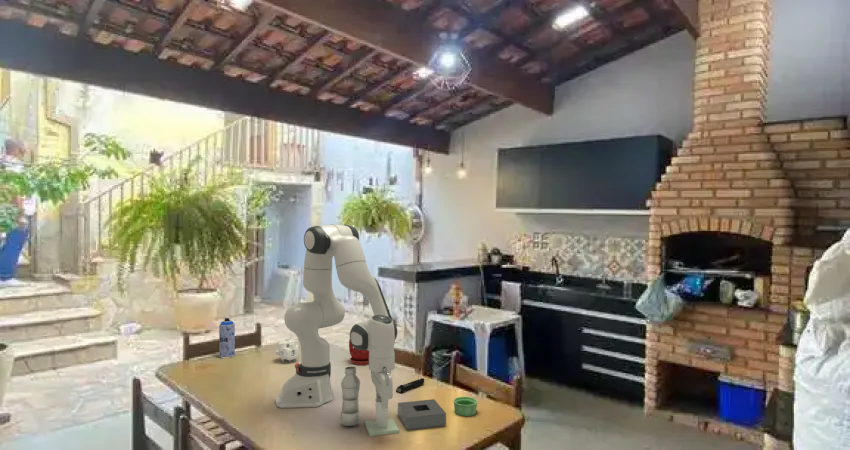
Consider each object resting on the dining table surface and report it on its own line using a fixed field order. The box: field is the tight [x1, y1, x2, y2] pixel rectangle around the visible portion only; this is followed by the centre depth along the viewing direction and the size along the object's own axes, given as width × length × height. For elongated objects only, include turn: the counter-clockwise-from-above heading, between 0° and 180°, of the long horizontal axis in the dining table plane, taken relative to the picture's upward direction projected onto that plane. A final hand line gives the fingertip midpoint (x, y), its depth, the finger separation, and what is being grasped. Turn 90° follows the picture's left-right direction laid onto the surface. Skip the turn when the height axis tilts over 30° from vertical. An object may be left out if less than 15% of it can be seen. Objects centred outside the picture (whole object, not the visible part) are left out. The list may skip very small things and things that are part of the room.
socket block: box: [397, 398, 447, 432], centre depth 180 cm, size 14×14×4 cm
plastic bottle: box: [340, 366, 361, 427], centre depth 176 cm, size 6×7×20 cm
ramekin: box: [453, 396, 479, 417], centre depth 188 cm, size 9×9×4 cm
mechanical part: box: [275, 336, 300, 363], centre depth 253 cm, size 11×12×12 cm
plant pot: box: [348, 338, 369, 366], centre depth 251 cm, size 13×13×12 cm
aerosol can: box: [218, 317, 236, 358], centre depth 261 cm, size 8×8×20 cm
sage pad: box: [364, 417, 400, 437], centre depth 173 cm, size 10×10×1 cm
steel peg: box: [375, 397, 389, 428], centre depth 173 cm, size 4×4×9 cm
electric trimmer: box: [395, 378, 425, 395], centre depth 214 cm, size 4×16×3 cm, turn 138°
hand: (381, 403), depth 173 cm, fingers open, 8 cm apart
